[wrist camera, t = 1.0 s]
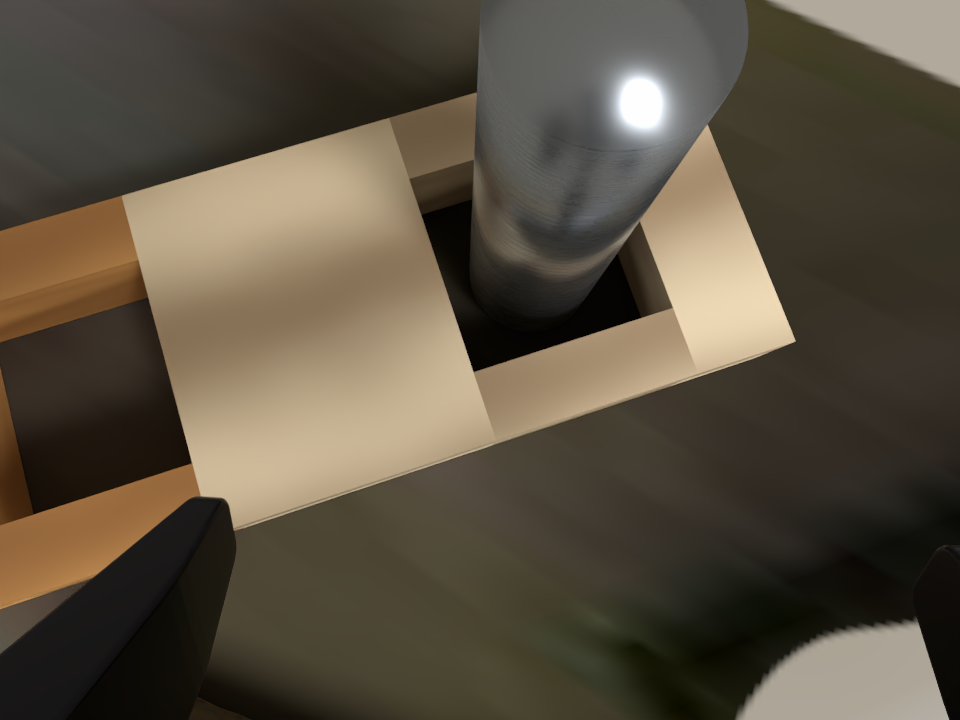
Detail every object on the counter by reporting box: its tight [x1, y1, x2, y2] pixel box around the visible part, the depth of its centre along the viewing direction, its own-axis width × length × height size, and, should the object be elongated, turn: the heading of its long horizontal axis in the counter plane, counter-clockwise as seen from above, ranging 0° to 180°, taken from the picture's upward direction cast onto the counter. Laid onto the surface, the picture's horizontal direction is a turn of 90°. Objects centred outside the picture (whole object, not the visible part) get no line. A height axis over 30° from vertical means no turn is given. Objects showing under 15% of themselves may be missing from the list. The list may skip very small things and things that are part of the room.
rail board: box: [0, 93, 795, 609], centre depth 21 cm, size 10×25×3 cm, turn 108°
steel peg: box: [469, 0, 749, 332], centre depth 17 cm, size 4×4×13 cm
